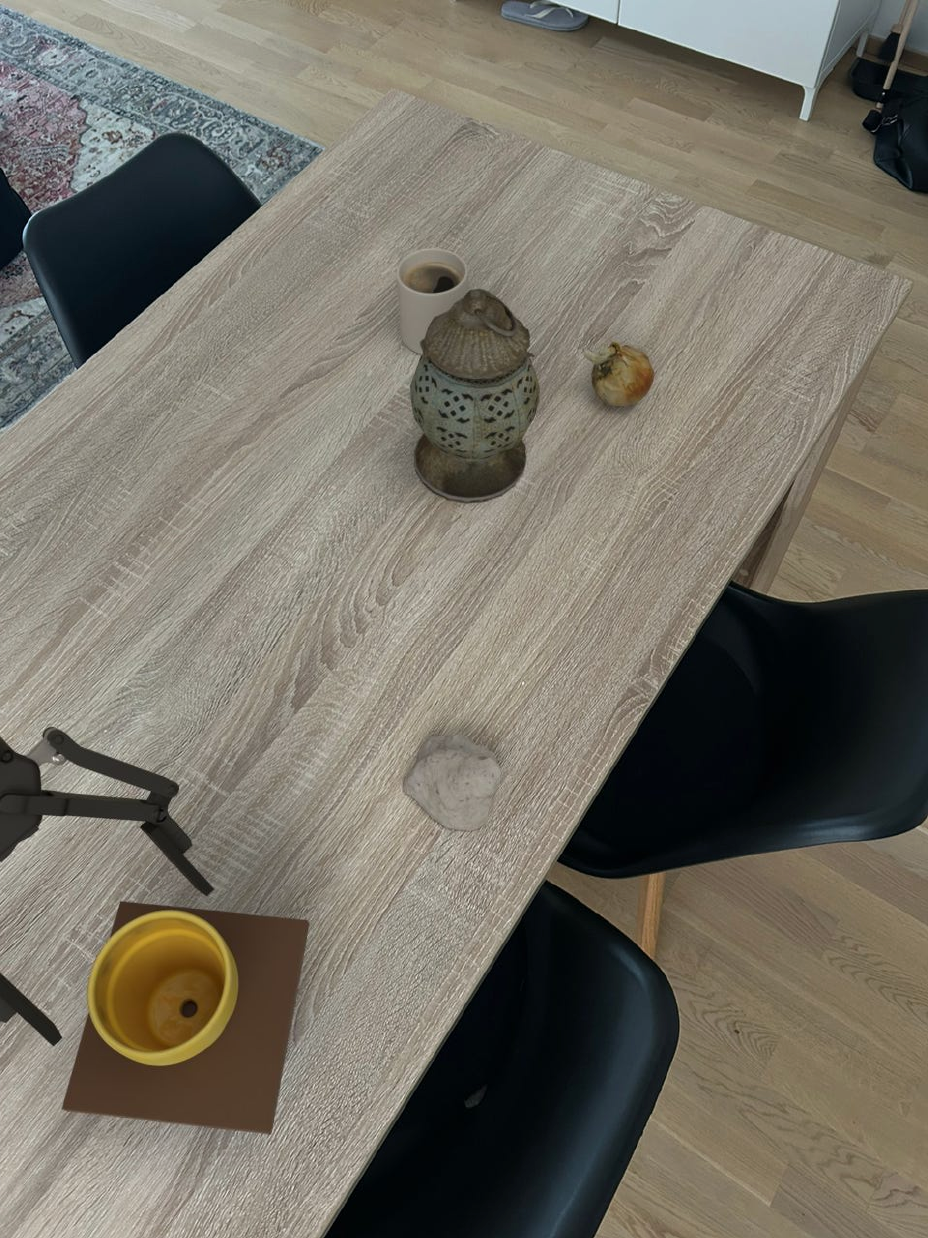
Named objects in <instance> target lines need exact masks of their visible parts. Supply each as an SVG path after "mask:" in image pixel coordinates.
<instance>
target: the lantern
mask: <svg viewBox="0 0 928 1238" xmlns="http://www.w3.org/2000/svg"><path fill="white" fill-rule="evenodd" d="M530 339H531V333H530V330H529V328H526V326H524V324H523V323H522V322H521V321H520V319H518V318H517V317H516V316H515V315H514V313H513V311H512V310H511V309H510V307H508V306H507V304H506V303H505V302H504V301H502V300H501V299H500V298H499V297H498V296H496V295H495V294H493V293H491V292H490V291H488V290H486V289H483V288H475V289H471V290H468V292H467V293H466V295H465V296H464V297H463V298H461V299H460V300H458V301H457V302H455V304H454V305H453V306H452V307H451V308H450V309H449V311H447V312H445V313H443V314H440V315H438V316H436V317H434V319H433V321H432V322H431V324H430V325H429V327H428V329H427V332H426V335H425V338H424V339H423V340H421V341H420V346H421V348H422V351H423V354H422V355H421V354H420V356H419V360H418V362H417V365H416V368H415V370H414V373H413V376H412V378H411V381H410V384H409V393H410V394H409V395H410V403H411V404H410V405H411V409H412V415H413V420H414V421H415V422H416V424H417V425H418V427H419V428H420V430H421V431H422V433H423V434H422V435H421V437H420V438H419V439H418V440H417V442H416V446H415V449H414V452H413V461H414V471H415V473H416V475H417V477H418V478H419V480H420V482H421V484H422V485H423V486H425V487H426V489H428V490H429V491H430V492H431V493H432V494H434V495H436V496H438V497H441V498H443V499H445V500H448V501H451V502H456V503H462V504H475V503H485V502H488V501H491V500H494V499H497V498H499V497H502V496H503V495H505V494H506V493H508V492H509V491H510V490H511V489H513V488H514V487H516V485H517V484H518V482H519V480H520V479H521V478H522V477H523V474H524V471H525V467H526V462H527V454H526V453H527V452H526V443H524V441H523V438H524V436H525V434H526V433H527V431H528V429H529V427H530V426H531V425H532V424H531V423H532V422H533V420H534V419H535V416H536V413H537V410H538V408H539V405H540V396H541V395H540V394H541V393H540V392H541V391H540V390H541V389H540V388H541V387H540V383H539V379H538V376H537V373H536V369H535V368H534V365H533V363H532V360H531V358H535V356H536V355H535V354H534V353H533V352H529V351H528V350H529V348H530V346H531V340H530Z"/></svg>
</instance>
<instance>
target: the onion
mask: <svg viewBox="0 0 928 1238" xmlns="http://www.w3.org/2000/svg"><path fill="white" fill-rule="evenodd" d="M582 354H583V357H584V358H585V359H587V361H589V362H590V363H592V364H593V367H592V369H591V373H590V375H591V384H592V388H593V390H594V392H595V394H596V396H597V397H599V399H600V400H602V401H603V402H604V403H606V404H608V405H610V406H612V407H613V406H614V407H627V406H631V405H635V404H636V403H638V402H640V401H641V400H642V399H643V398H644V397H645V398H646V395H647V394H648V393H649V391H650V390H651V387H652V386H653V383H654V380H655V379H654V378H655V371H654V368H653V366H652V363H651V361H650V359H649V357H648V355H646V353H644V352H643V350H641V349H638V348H636V347H634V346H633V345H629V344H624V345H622V344H621V343H620V342H617V341H611V342H610V343H609V345H607V344H604V349H603V351H602V353H600V352H597V351H594V350H592V349H590V348H589V347H587V348H585V349H584V350H583V353H582Z"/></svg>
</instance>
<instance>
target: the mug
mask: <svg viewBox="0 0 928 1238" xmlns="http://www.w3.org/2000/svg"><path fill="white" fill-rule="evenodd" d="M468 268H469V267H468V265H467V263H466V261H465V260H464V259H463V257H461V256H460V255H459V254H458V253H456V252H454V251H451V250H448V249H445V248H441V247H426V248H422V249H417V250H414V251H412V252H410V253H408V254H407V255H405V256H404V257H403V258H402V259H401V260H400V261H399V263H398V264H397V267H396V270H395V278H396V289H397V290H396V291H397V302H398V316H399V327H400V337H401V340H402V343H404V345H405V346H406V347H407V348H408V349H409V350H410V351H412V352H414V353H415V354H418V355H420V356H421V355H422V354H423V351H422V348H421V346H420V341H421V340H423V339H424V338H425V335H426V332H427V329H428V327H429V325H430V324H431V322H432V321H433V319H434V317H436V316H438V315H440V314H443V313H445V312H447V311H449V309H450V308H451V307H452V306H453V305H454V304H455V302H457V301H458V300H460V299H461V298H463V297H464V296H465V295H466V293H467V292H469V269H468Z"/></svg>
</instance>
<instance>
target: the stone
mask: <svg viewBox="0 0 928 1238" xmlns="http://www.w3.org/2000/svg"><path fill="white" fill-rule="evenodd" d="M502 776H503V771H502V769H501V767H500V765H499V762H498V759H497V757H496V755H495V753H494V752H493V751H492V750H490V749H489V748H488V746H487V745H478V744H477V743H475V742H474V741H473V740H471V739H470V738H468V737H466V736H463V735H460V734H453V735H444V736H443V735H437V734H435V735H431V736H430V737H425V739H424V742H423V743H422V745H421V747H420V750H418V752H417V762H416V763H415V765H414V766H413V767H412V768H411V770H410V771H409V772H408V773H407V775H406V777H405V778H404V780H403V783H402V784H403V785H402V790H403V792H404V793H405V795H407V796H410V797H411V798H413V799H414V800H415V801H416V802H417V804H418V805H419V806H420V808H422V809H423V810H424V811H425V812H426V813H427V814H428V815H429V816H430V817H431V818H432V819H433V820H435V821H436V822H437V823H438V824H439V825H441V826H442V827H444V828H446V829H449V830H455V831H467V832H471V831H476V830H478V829H480V828H481V827H482V826H484V824H486V822H487V821H488V819H489V815H490V811H491V809H492V806H493V802H494V798H495V797H494V796H495V793H496V791H497V790H498V788H499V786H500V783H501V780H502Z"/></svg>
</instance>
